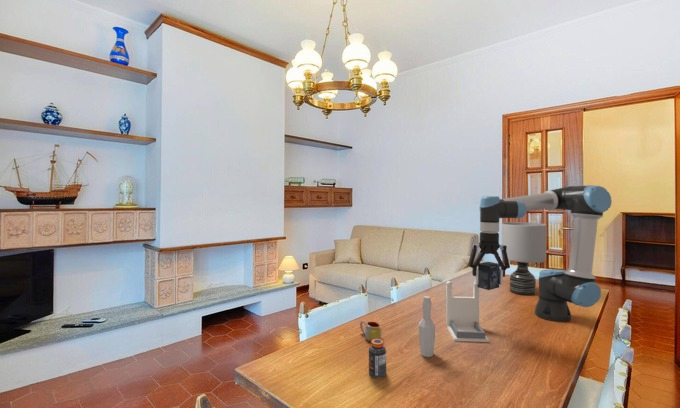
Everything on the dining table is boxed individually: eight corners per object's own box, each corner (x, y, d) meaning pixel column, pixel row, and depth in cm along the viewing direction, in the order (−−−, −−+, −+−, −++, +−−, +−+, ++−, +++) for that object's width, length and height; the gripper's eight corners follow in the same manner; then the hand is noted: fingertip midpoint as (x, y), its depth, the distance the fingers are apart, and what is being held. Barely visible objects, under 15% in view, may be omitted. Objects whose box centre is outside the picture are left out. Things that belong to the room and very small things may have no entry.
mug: (385, 340, 137) (385, 324, 137) (372, 344, 133) (372, 328, 133) (367, 330, 147) (367, 316, 147) (355, 334, 143) (355, 319, 143)
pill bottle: (367, 369, 114) (367, 337, 114) (384, 368, 115) (384, 336, 114) (370, 379, 108) (370, 345, 108) (388, 378, 109) (387, 344, 108)
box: (489, 290, 136) (489, 265, 136) (477, 287, 141) (477, 263, 140) (499, 287, 140) (500, 263, 140) (487, 284, 145) (487, 261, 145)
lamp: (554, 298, 189) (555, 225, 188) (513, 298, 190) (513, 225, 188) (531, 286, 213) (531, 222, 212) (494, 286, 214) (494, 222, 212)
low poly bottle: (432, 359, 120) (432, 300, 120) (416, 355, 124) (415, 298, 123) (437, 352, 126) (437, 296, 125) (421, 348, 129) (421, 293, 128)
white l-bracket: (478, 326, 150) (478, 280, 149) (489, 342, 134) (490, 290, 134) (445, 325, 151) (445, 280, 151) (453, 340, 136) (453, 290, 135)
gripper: (512, 231, 143) (511, 282, 143) (460, 230, 145) (459, 280, 145) (520, 233, 135) (518, 287, 136) (465, 232, 137) (464, 285, 138)
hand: (488, 283), depth 141 cm, fingers closed on box, 9 cm apart
